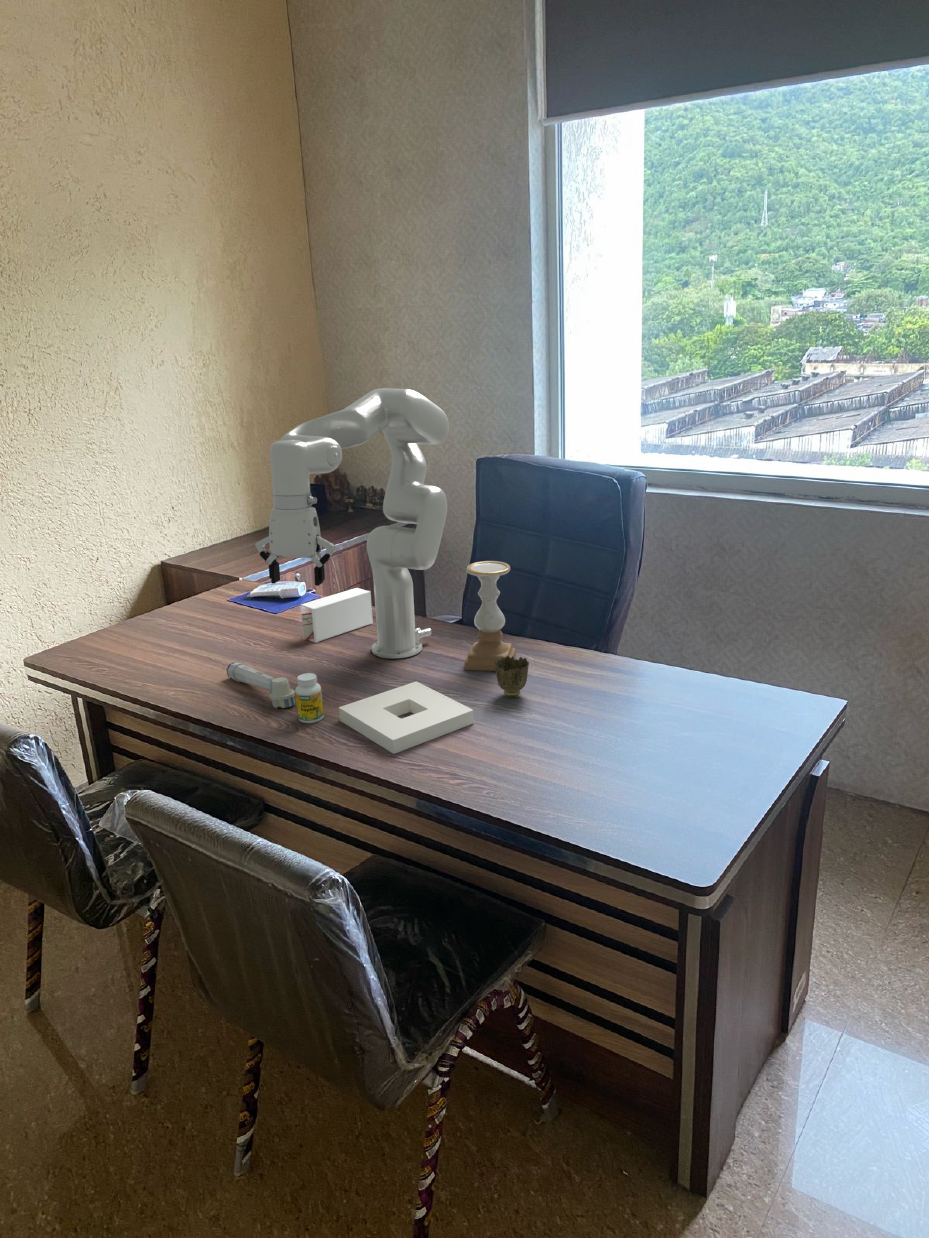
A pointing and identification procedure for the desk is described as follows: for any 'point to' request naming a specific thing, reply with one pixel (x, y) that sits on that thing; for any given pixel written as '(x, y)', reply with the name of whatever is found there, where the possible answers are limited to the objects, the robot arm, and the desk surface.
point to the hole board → (399, 734)
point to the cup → (511, 675)
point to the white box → (337, 614)
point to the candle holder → (488, 619)
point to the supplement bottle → (309, 698)
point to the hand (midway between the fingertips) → (297, 583)
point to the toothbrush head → (264, 683)
